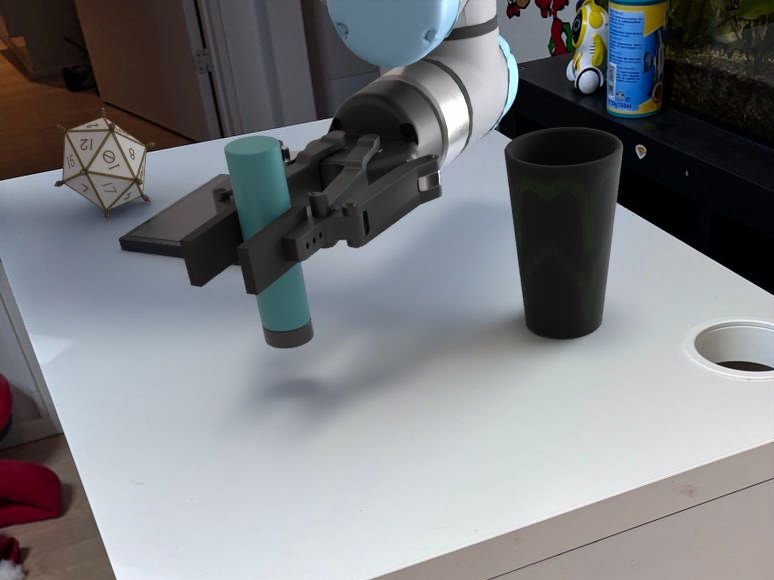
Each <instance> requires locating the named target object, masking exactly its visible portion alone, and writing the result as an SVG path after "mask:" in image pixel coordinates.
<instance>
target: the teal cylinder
mask: <svg viewBox="0 0 774 580" xmlns="http://www.w3.org/2000/svg"><path fill="white" fill-rule="evenodd" d="M278 140H279V139H278V138H277V137H273V136H270V135H251V136H244V137H240V138H237V139H236V138H235V139H234V140H232V141H230V142H228V143H226V144H225V145H224V147H223V151H224V156H225V161H226V166H227V170H228V174H229V175H230V180H231V184H232V189H233V194H234V198H235V203H236V207H237V212H238V217H239V221H240V226H241V231H242V235H243V240H244V242H245V241H246V240H248V239H249V238H250V237H252V236H253V235H255V234H256V233H257V232H259V231H260V230H261V229H263V228H264V227H266V226H267V225H268V224H270V223H271V222H272V221H274V220H275V219H276V218H278V217H279V216H281V215H282V214H283V213H285V212H286V211H288V210H289V209H290V208H291V204H290V198H289V193H288V187H287V181H286V176H285V170H284V165H283V159H282V154H281V148H280V142H279V141H278ZM308 299H309V298H308V293H307V288H306V282H305V277H304V271H303V266H302V262H300V263H297V264H296V265H295V266H293V267H292V268H291V269H290V270H289V271H287V272H286V273H285V274H284V275H282V276H281V277H280V278H279V279H277V280H276V281H275V282H274V283H272V284H271V285H270V286H269V287H267V288H266V289H265V290H264V291H263V292H261V293H260V294H259V295H255V300H256V304H257V309H258V314H259V318H260V323H261V327H262V332H263V337H264V342H265V343H266V344H267V345H268V346H269V347H272V348H275V349H282V350H288V349H295V348H298V347H302V346H304V345H306V344H309V342H310V341H311V340H312V339H313V338H314V336H315V335H314V334H315V331H314V327H313V321H312V317H311V316H312V315H311V310H310V304H309V300H308Z"/></svg>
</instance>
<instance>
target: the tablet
mask: <svg viewBox="0 0 774 580" xmlns="http://www.w3.org/2000/svg"><path fill="white" fill-rule="evenodd" d="M228 177H230V175H229V173H219V174H218V175H216V176H214V177H213V178H211V179H209V180H208V181H206V182H205V183H204V184H201V185H200V186H199V187H197V188H196V189H194V190H192V191H191V192H189V193H187V194H186V195H184V196H183V197H181V198H179V199H178V200H177V201H175V202H173V203H171V204H170V205H169V206H167V207H166V208H164V209H162V210H161V211H159V212H158V213H156V214H155V215H153V216H152V217H150V218H148V219H147V220H145V221H144V222H142V223H140V224H139V225H137V226H136V227H134V228H133V229H131V230H130V231H128V232H126V233H125V234H123V235H121V236H119V237H118V238H117V239H118V243H119V246H120V249H121V250H123V251H129V252H137V253H138V252H139V253H145V254H154V255H160V256H168V257H176V258H183V259H184V257H183V253H182V249H181V245H180V241H179V240H180V239H182V238H183V237H185V236H186V235H188V234H189V233H191V232H192V231H194V230H195V229H197V228H198V227H200V226H201V225H203V223H205V222H206V221H208V220H209V219H211V218H213V216H215V215H216V214H217V212H216V207H215V203H214V198H213V194H212V189H213V188H215V187H216V186H217V185H219V184H220V183H221V182H223V181H224V180H226V179H227V178H228ZM306 209H307V215H308V216H309V215H311V209H310V206H308V207H306ZM232 265H237V266H240V261H239V260H237V261H236V262H235V263H233V264H232Z"/></svg>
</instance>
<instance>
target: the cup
mask: <svg viewBox="0 0 774 580" xmlns="http://www.w3.org/2000/svg"><path fill="white" fill-rule="evenodd" d="M623 151H624V145H623V143H622V140H620V138H618V137H617V136H616V135H615V134H612V133H611V132H608V131H604V130H600V129H596V128H589V127H578V126H576V127H575V126H568V127H565V126H564V127H563V126H561V127H552V128H543V129H539V130H533V131H530V132H528V133H524V134H521V135H519V136H517V137H515V138H512V140H510V142H508V143H507V144H506V145H505V147H504V149H503V152H504V160H505V168H506V169H505V170H506V176H507V185H508V192H509V193H508V194H509V199H510V201H509V202H510V208H511V218H512V225H513V231H514V240H515V248H516V256H517V263H518V272H519V281H520V288H521V296H522V304H523V312H524V320H525V326H526V327H527V329H528V330H529V331H530V332H531V333H533V334H536V335H537V336H540V337H543V338H548V339H555V340H559V339H560V340H562V339H563V340H564V339H567V340H568V339H575V338H581V337H583V336H587V335H589V334H591V333H593V332H595V331H596V330H598V329H599V328H600V326H601V325H602V323H603V318H604V317H603V316H604V308H605V301H606V291H607V283H608V276H609V268H610V260H611V259H610V258H611V251H612V250H611V249H612V242H613V233H614V225H615V218H616V211H617V201H618V194H619V193H618V191H619V185H620V178H621V177H620V176H621V168H622V160H623V159H622V158H623Z"/></svg>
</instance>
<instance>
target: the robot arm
mask: <svg viewBox="0 0 774 580" xmlns="http://www.w3.org/2000/svg"><path fill="white" fill-rule="evenodd" d="M318 1H319V2H320V3H322V4H323V5H325V6H326V7H327V11H328V14H329V18H330V21H331V23H332V24H333V26H334V28H335V30H336V33H337V34H338V36H339V37H340V39H341V40H342V42H343V43H344V45H345V46H346V47H347V48H348V49H349V50H350V51H351V52H352V53H353V54H354V55H355V56H357V57H358V58H359V59H361V60H363V61H365V62H367V63H369V64H371V65H374V66H377V67H381V68H389V69H390V70H389V71H388V72H385V73H384V74H382V75H381V76H380V77H378V78H377V79H375V80H374V81H372V82H370V83H369V84H367V85H366V86H364V87H363V88H361V89H360V90H359V91H357V92H355V93H353V94H352V95H350V96H349V97H348V98H346V99H345V100H344V101H343V102H342V103H341V104H340V105H339V107H338V108H337V109H336V111H335V113H334V115H333V117H332V120H331V123H330V125H329V128H328V131H327V133H326V134H323V135H322V136H321V137H319V138H317V139H313V140H311V141H309V142H308V143H307V144H306V145H305V147H304V149H302V150H290V147H289V146H288V145H284V141H283V140H281V139H278V141H279V142H280V148H281V154H282V159H283V165H284V170H285V176H286V181H287V187H288V193H289V198H290V204H291V208H290V209H289V210H288V211H286V212H285V213H283V214H282V215H281V216H279V217H278V218H276V219H275V220H274V221H272V222H271V223H270V224H268V225H267V226H266V227H264V228H263V229H261V230H260V231H259V232H257V233H256V234H255V235H253V236H252V237H250V238H249V239H248V240H246V241H245V242H244V240H243V235H242V231H241V226H240V221H239V217H238V212H237V207H236V203H235V198H234V194H233V189H232V184H231V180H230V177H228V178H227V179H226V180H224V181H223V182H221V183H220V184H219V185H217V186H216V187H215V188H213V189H212V194H213V198H214V203H215V207H216V212H217V214H216V215H215V216H213V218H211V219H209V220H208V221H206V222H205V223H203V225H201V226H200V227H198V228H197V229H195V230H194V231H192V232H191V233H189V234H188V235H186V236H185V237H183V238H182V239H180V240H179V241H180V245H181V249H182V253H183V257H184V258H183V257H182V258H183V261H184V265H185V268H186V272H187V275H188V280H189V283H190V286H192V287H198V288H202V287H204V286H205V285H206V284H208V283H209V282H211V281H212V280H214V279H215V278H216V277H217V276H219V275H221V273H222V272H224V271H226V269H228V268H229V267H230V266H232V265H234V264H233V263H235V262H236V261H237V260H239V261H240V265H239V266H240V269H241V275H242V279H243V284H244V288H245V293H246V294H247V295H251V296H252V295H254V296H256V295H259V294H260V293H261V292H263V291H264V290H265V289H266V288H267V287H269V286H270V285H271V284H272V283H274V282H275V281H276V280H277V279H279V278H280V277H281V276H282V275H284V274H285V273H286V272H287V271H289V270H290V269H291V268H292V267H293V266H295V265H296V264H297V263H300V262H301V263H303V262H305V261H307V260H309V258H311V257H312V256H313V255H314V254H315V253H317V252H318V251H319V250H321V249H323V250H326V249H327V250H328V249H331V248H334V247H335V246H336V245H337V244H338V242H339V241H346V246H347V247H349V248H351V249H360V248H363V247H364V246H366V245H367V244H369V243H370V242H372V241H373V240H374V239H376V238H377V237H378V236H380V235H381V234H382V233H384V232H385V231H387V230H388V229H389V228H390V227H392V226H393V225H395V224H396V223H398V222H399V221H401V219H403V218H404V217H406V216H407V215H408V214H410V213H411V212H413V211H414V210H415V209H417V208H418V207H419V206H421V205H424V204H426V203H429V202H431V201H434V200H437V199H439V198H441V197H442V196H443V187H442V176H441V175H442V173H441V171H442V170H443V169H444V168H446V166H448V165H449V164H450V163H451V162H452V161H454V160H455V159H456V158H458V157H459V156H460V155H461V154H463V153H464V152H465V151H466V150H468V149H469V148H471V146H473V145H474V144H475V143H477V142H478V141H479V140H482V139H483V138H484V137H486V135H489V134H490V132H491V131H493V130H495V128H496V127H497V126H498V125H499V124H500V122H501V120H502V118H503V117H504V116H505V115H506V114H507V113H508V111H509V110H510V108H511V107H512V105H513V103H514V101H515V99H516V96H517V92H518V86H519V70H518V64H517V62H516V59H515V56H514V54H513V52H512V50H511V48H510V46H509V43H508V42H507V41H506V40H505V38H503V37H502V35H500V34H499V33H500V32H499V23H498V13H497V0H318ZM308 206H310V209H311V215H309V216H308V215H307V209H306V207H308Z"/></svg>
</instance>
